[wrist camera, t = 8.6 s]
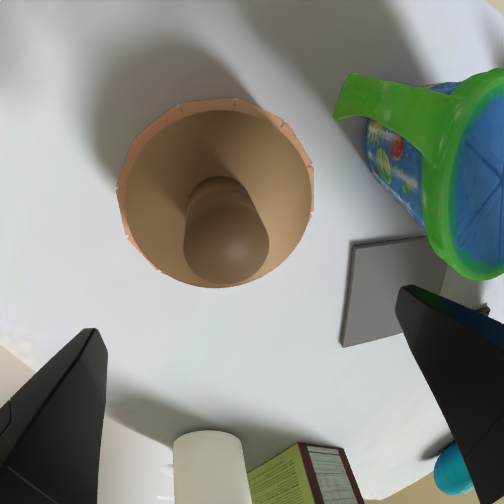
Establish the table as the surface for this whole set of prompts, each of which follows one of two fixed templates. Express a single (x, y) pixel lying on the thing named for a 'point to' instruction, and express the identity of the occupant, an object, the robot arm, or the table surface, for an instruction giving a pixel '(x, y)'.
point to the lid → (218, 199)
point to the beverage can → (209, 469)
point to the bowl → (191, 108)
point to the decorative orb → (452, 472)
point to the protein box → (305, 478)
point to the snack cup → (440, 160)
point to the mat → (386, 285)
